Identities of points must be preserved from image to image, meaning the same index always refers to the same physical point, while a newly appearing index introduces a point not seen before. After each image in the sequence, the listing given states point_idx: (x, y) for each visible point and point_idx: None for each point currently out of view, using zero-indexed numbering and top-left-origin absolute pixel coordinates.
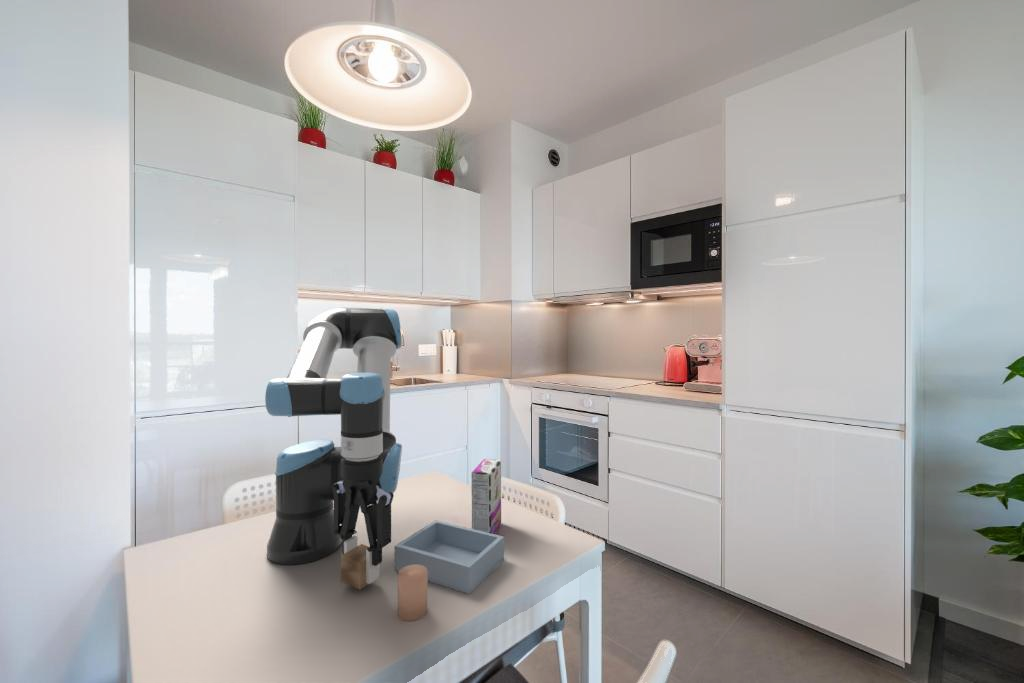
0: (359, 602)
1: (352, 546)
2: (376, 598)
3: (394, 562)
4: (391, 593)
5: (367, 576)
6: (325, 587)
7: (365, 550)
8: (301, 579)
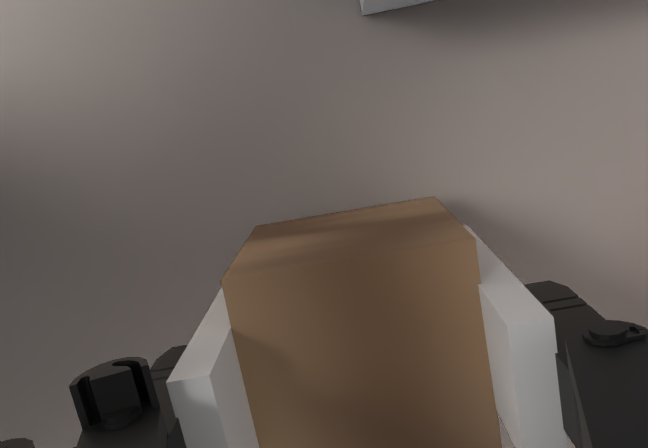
0: None
1: (238, 397)
2: None
3: (364, 7)
4: (564, 203)
5: None
6: None
7: (359, 327)
8: (23, 428)
